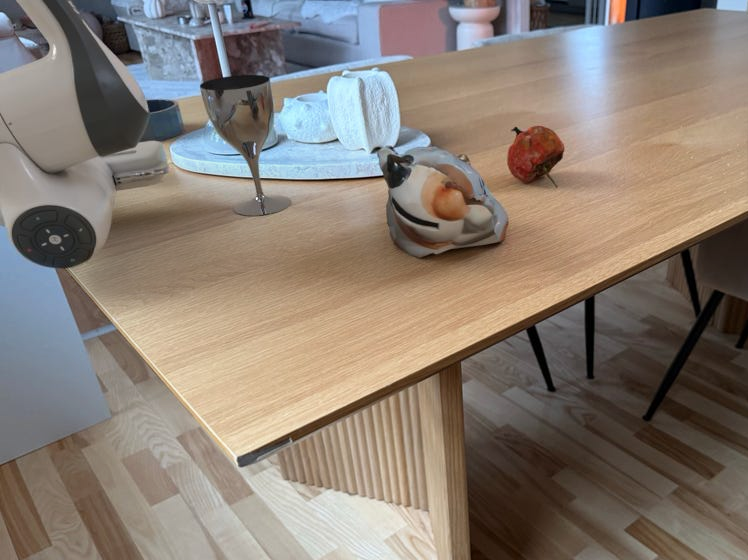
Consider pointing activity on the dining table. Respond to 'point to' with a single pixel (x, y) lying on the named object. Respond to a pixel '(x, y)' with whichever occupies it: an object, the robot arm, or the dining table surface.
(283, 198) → the wine glass
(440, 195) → the lucky cat figurine
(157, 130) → the bowl
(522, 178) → the pomegranate
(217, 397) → the dining table surface
